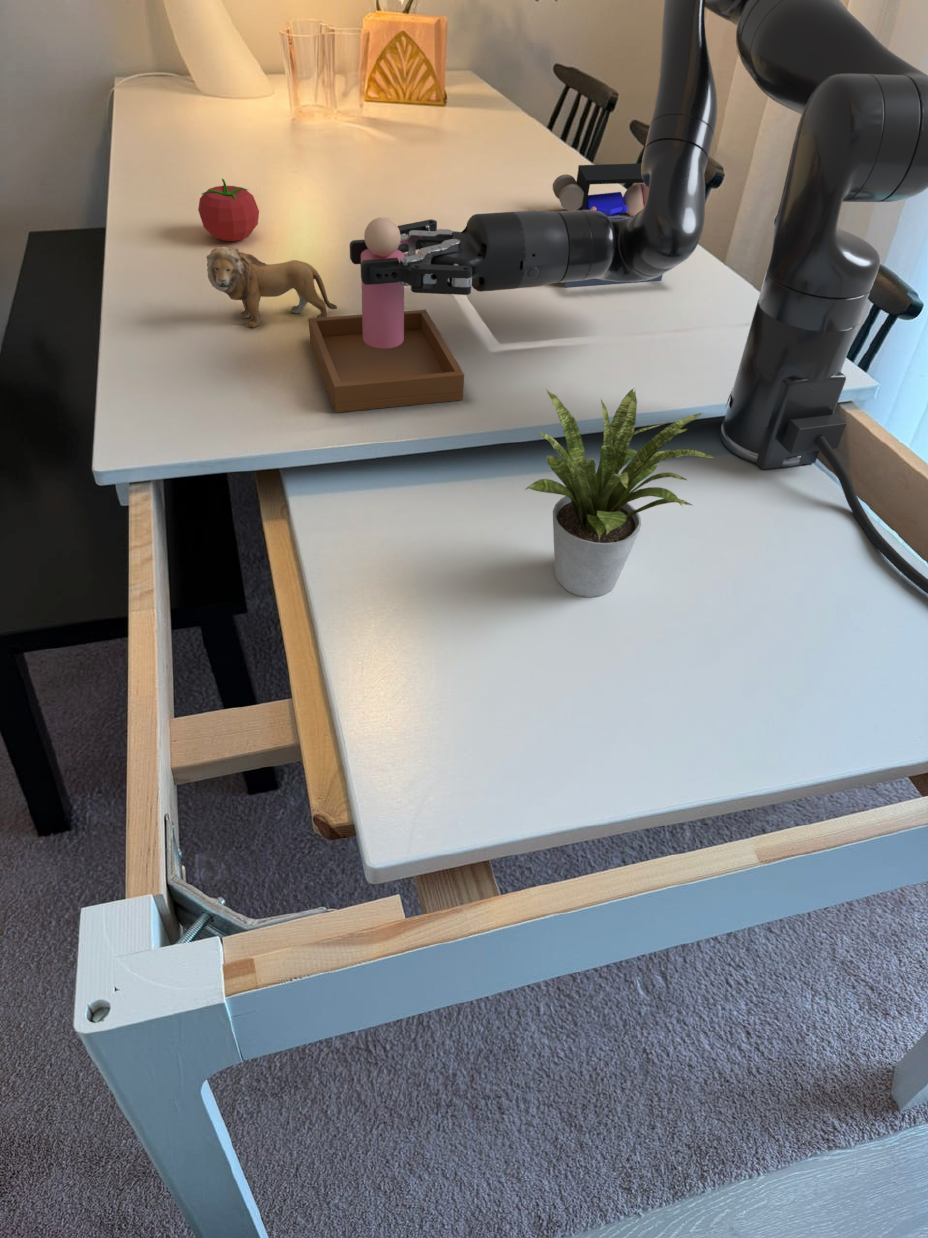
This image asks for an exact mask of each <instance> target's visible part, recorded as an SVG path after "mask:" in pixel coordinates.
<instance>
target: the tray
mask: <svg viewBox="0 0 928 1238" xmlns="http://www.w3.org/2000/svg"><path fill="white" fill-rule="evenodd" d="M307 321H308V335H309V345H310V347H311V350H312V353H313V355H314V358H315V361H316V363H317V367H318V369H319V372H320V374H321V378H322V380H323V382H324V386H325V388H326V391H327V393H328V396H329V400H330V402H331V404H332V407H333V409H334V412H335V414H338V413H347V412H348V413H349V412H357V411H368V410H376V409H378V410H379V409H387V408H397V407H405V406H406V407H407V406H418V405H427V404H436V403H445V402H447V403H448V402H456V401H457V402H458V401H464V399H463V397H464V386H465V385H464V384H465V373H464V372H463V370H462V368H461V366H460V365H459V363H458V361H457V359H456V358H455V356H454V354H453V352H452V351H451V349H450V348H449V346H448V344H447V343H446V340H445V339H444V338H443V336H442V334H441V332H440V330H439V329H438V327H437V326H436V324H435V322H434V321H433V319H432V317H431V315H430V313H429V312H428V311H427V309H416V310H415V309H413V310H404V341H403V343H402V344H400V345H399V346H396V347H393V348H385V349H383V348H375V347H371V346H369V345H367V344H366V343H365V342H364V341H363V329H362V313H360V314H349V315H348V314H347V315H336V316H327V317H320V318H316V317H309V318H308V320H307Z"/></svg>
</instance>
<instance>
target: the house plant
mask: <svg viewBox="0 0 928 1238" xmlns="http://www.w3.org/2000/svg"><path fill="white" fill-rule="evenodd" d="M636 390H637V389H634V388H632V389H631V390H629V391H628V392H627V393H626V394H625V396H624V397H623V398H622V399H621V401H620V403H619V405H618V407H617V408H616V410H615V412H614V415H613V417H612V420H611V421H610V418H609V413H608V409H607V407H606V404H605V403H604V401H603V400H602V398H600V403H601V409H602V410H601V411H602V419H603V420H602V421H603V441H602V444H601V446H600V452H599V453H600V454H599V455H600V456H599V463H598V466H597V470H596V465H597V464H596V461H595V459H594V458H593V457H591V458H588V460H587V456H586V450H585V445H584V442H583V437H582V435H581V432H580V429H579V426H578V422H577V421H576V418H575V417H574V416H573V415H572V413H571V412H570V411H569V410H568V409H567V408H566V407H565V405H564V404H563V402H562V401H561V400H560V398H559V397H558V396H557V395H555V393H552V392H550V391H549V390H548V389H546V392H547V395H548V397H549V398H550V400H551V403H552V405H553V407H554V409H555V411H556V415H557V416H558V419H559V422H560V425H561V428H562V430H563V433H564V437H565V442H566V446H567V449H565V448H564V447H563V446H562V445H561V444H560V443H559V442H558V441H557V440H556V439H555V438H554V437H552V436H551V435H549V434H547V433H546V432H542V431H540V430H537V432H538V433H539V434H540V435H541V436H542V437H543V438H544V439H545V440H546V441H548V442H549V443H550V445H551V446H552V447H553V449H554V451H555V452H556V453H557V454H558V455H559V456H555V455H546V464H547V465H548V466H549V468H550V469H551V471H552V472H553V473H554V474H555V475H556V477H557V478H558V479H559V480H560V481H561V482H562V483H560V482H558V481H555V480H553V479H549V478H542V479H538V480H536V481H534V482H532V483H531V484H530V485H528V486H527V487H526V488H525V489H524V491H526V490H528V489H530V490H532V491H534V492H535V491H536V492H540V493H547V494H555V495H560V496H563V497H560V499H559V500H558V501H557V502H556V503H555V505H554V507H553V509H552V527H553V528H552V529H553V553H554V555H553V556H554V557H553V559H554V577H555V579H556V581H557V582H558V583H559V585H560V586H561V587H562V588H563V589H564V590H566V591H567V592H568V593H571V594H573V595H575V596H579V597H584V598H595V597H600V596H604V595H607V594H608V593H610V592H612V590H613V589H614V588H615V587H616V586H617V585H616V584H617V583H618V580H619V578H620V576H621V573H622V571H623V569H624V567H625V565H626V562H627V561H628V558H629V555H630V554H631V551H632V549H633V547H634V545H635V542H636V540H637V538H638V536H639V533H640V531H641V528H642V525H643V524H642V519H641V516H640V514H639V513H640V512H644V511H645V510H648V509H650V508H654V507H656V506H660V505H665V504H670V503H678V504H679V505H680V506H681V507H683V505H687V506H693V503H690V502H688V501H686V500H684V499H681V498H678V496H677V495H676V494H675V493H674V492H672V491H671V490H669V489H667V488H664V487H659V486H658V487H649V486H648V487H645V488H641V487H643V486H644V485H646V484H648V483H651V482H652V481H656V480H659V479H664V478H674V479H678V480H682V481H689V480H688V479H687V478H685V477H683V476H682V475H680V474H677V473H673V472H669V471H668V472H667V471H666V472H660V473H656V474H653V473H654V472H655V471H656V469H657V468H658V467H660V466H659V463H661V462H663V461H667V460H670V459H674V458H680V457H684V456H685V457H686V456H695V457H700V458H701V457H702V458H708V459H709V458H711V459H716V457H715V456H713V455H712V454H708V453H705V452H703V451H700V450H697V449H696V450H695V449H690V448H677V449H666V450H660V449H661V448H662V447H664V446H665V445H666V444H668V443H669V442H670V441H671V440H672V439H674V438H675V437H676V436H677V435H680V434H681V433H685V432H686V431H687V430H688V428H683V427H684V426H686V425H687V424H688V423H690V422H692V421H695V420H696V419H697V418H699V417H700V416H701V415H702V414H703V412H700V413H695V414H691V415H688V416H685V417H683V418H681V419H679V420H676V421H674V422H672V423H671V424H669V425H668V426H666V427H665V428H663V429H662V430H661V431H659V432H658V433H657V434H656V435H654V436H653V437H652V438H651V439H649V440H648V441H647V442H646V443H645V444H643V446H642V447H640V449H639V450H638V451H636V450H634V449H633V448H629V447H630V444H631V441H632V438H633V436H634V435H638V434H639V433H642V432H645V431H647V430H648V431H649V430H651V429H654V428H658V427H660V426H664V425H665V424H668V423H669V421H667V422H664V423H660V424H656V425H651V426H646V427H643V428H640V429H637V430H635V427H636V418H637V416H636V415H637V410H638V409H637V408H638V400H637V395H636ZM560 457H561V458H560ZM628 462H629V463H628ZM627 463H628V464H627ZM626 464H627V465H626ZM625 465H626V466H625ZM624 466H625V467H624ZM622 469H623V470H622ZM621 470H622V471H621ZM620 471H621V472H620ZM652 474H653V475H652ZM650 475H651V476H650ZM649 476H650V477H649ZM647 477H648V478H647ZM639 483H640V484H639ZM646 497H654V498H659V499H656V500H654V501H652V502H651V501H650V502H649V503H646V504H644V505H642V506H641V507H639V508H637V509H636V508H635V507H634V506H633V505H632V504H631V503H629V502H632V501H635V500H637V499H640V498H646Z"/></svg>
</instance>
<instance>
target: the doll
mask: <svg viewBox="0 0 928 1238" xmlns="http://www.w3.org/2000/svg"><path fill="white" fill-rule="evenodd" d="M397 226H398V225H397V224H396V223H395V222H394V221H393V220H391V219H390V218H387V217H377V218H374V219H372V220H371V221H370V222H368V224H367V226H366V228H365V229H364V233H363V235H364V236H363V240H364V239H365V243H366V246H367V248H368V249H366V250H364V251H363V252H362V253H361V262H362V261H364V260H373V259H386V258H398V260H399V262H400V259H401V258H402V257H405V256H404V254H405V253H404V254H403V253H402V252H401V251H399V250H397V249H398V247H399V245H400V244H401V243H400V241H401V235H400V231H399V228H398V227H397ZM360 280H361V279H360ZM360 282H361V283H360V284H361V285H360V287H361V314H362V329H363V341H364V342H365V343H366V344H367V345H369V346H371V347H375V348H383V349H385V348H393V347H396V346H399V345H400V344H402V343H403V341H404V311H405V286H403V285H401V284H400V281H399V282H396V283H384V284H372V285H365V284H364V283H363V281H362V280H361V281H360Z"/></svg>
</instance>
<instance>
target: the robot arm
mask: <svg viewBox="0 0 928 1238" xmlns="http://www.w3.org/2000/svg"><path fill="white" fill-rule="evenodd" d="M705 9H706V10H707V11H709V12H712V13H714V15H717V16H718V17H720V18H722V19H724V20H726V21H728V22H730V23H732V24H734V25H735V26H736V29H735V30H736V31H735V46H736V51H737V54H738V57H739V59H740V61H741V64H742V65H743V67H744V69H745V70H746V72H747V73H748V74H749V76H750V77H751V79H752V80H753V81H754V83H755V84H756V86H757V87H758V88H759V89H760V91H762V93H764V94H765V95H766V96H767V97H768V98H770V99H771V100H772V101H774V102H775V103H778V104H779V105H781V106H783V107H785V108H786V109H789V110H791V111H793V112H796V113H798V114H800V115H801V116H800V118H799V122H798V125H797V127H796V132H795V136H794V140H793V144H792V149H791V154H790V157H789V163H788V167H787V168H788V169H787V172H786V176H785V180H784V181H785V182H784V184H783V189H782V193H781V198H780V202H779V206H778V209H777V214H776V217H775V223H774V228H773V236H772V244H771V251H770V257H769V259H768V263H767V268H766V270H765V275H764V278H763V281H762V285H761V288H760V292H759V296H758V299H757V301H756V306H755V309H754V311H753V312H754V313H753V316H752V319H751V323H750V327H749V331H748V333H747V336H746V337H747V338H746V341H745V344H744V348H743V351H742V355H741V358H740V362H739V366H738V369H737V373H736V376H735V380H734V383H733V386H732V389H731V390H730V394H729V395H728V399H727V401H726V404H725V408H724V409H726V408H727V409H726V413H725V416H724V418H723V420H722V423H721V426H720V429H719V437H720V441H721V442H722V444H723V445H724V446H725V448H727V449H728V450H729V451H730V452H732V454H734V455H736V456H738V457H740V458H742V459H744V460H745V461H749V462H752V463H754V464H756V465H757V466H758V467H759V468H760V469H762V470H769V469H770V470H771V469H778V468H786V467H792V466H793V467H794V466H801V465H808V464H809V465H810V464H815V463H816V462H817V459H818V456H819V454H820V452H821V454H822V455H823V457H824V458H825V459H826V461H827V462H828V464H829V466H830V467H831V468H832V471H833V472H834V474H835V475H836V477H837V479H838V481H839V484H840V486H841V488H842V491H843V495H844V498H845V499H846V502H847V504H848V507H849V509H850V510H851V512H852V514H853V516H854V518H855V520H856V521H857V522H858V524H859V525H860V526H859V527H861V529H862V531H863V532H864V533H865V536H866V537H867V538H868V539H869V541H870V542H871V543H872V545H874V547H875V548H876V549H877V550H878V552H880V553H881V554H882V555H883V556H884V558H886V559H887V561H889V562H890V564H891V565H893V566H894V567H895V568H896V569H897V570H898V572H900V573H901V574H902V575H903V576H904V577H905V578H907V579H908V580H909V581H910V582H912V583H913V584H914V585H915V586H916V587H918V588H919V589H921V590H922V591H923V592H924V593H925V594H927V595H928V578H927V577H926V576H925V575H923V573H921V572H920V571H918V570H917V568H915V567H914V566H913V565H911V563H909V562H908V561H907V560H906V559H905V558H904V557H902V555H901V554H899V553H898V551H897V550H896V549H894V547H893V546H892V545H891V543H889V542H888V541H887V540H886V539H885V537H883V536H882V535H881V533H880V532H879V531H878V530H877V528H876V527H875V526H874V524H873V523H872V521H871V519H870V518H869V516H868V514H867V513H866V511H865V509H864V508H863V505H862V504H861V502H860V500H859V498H858V496H857V493H856V491H855V487H854V485H853V481H852V480H851V479H852V478H851V477H850V475H849V473H848V471H847V469H846V467H845V466H844V464H843V462H842V461H841V458H839V456H838V455H837V453H836V452H835V450H834V449H838V447H839V445H840V443H841V440H842V437H843V435H844V433H845V429H846V427H847V422H846V421H845V420H844V419H842V418H841V416H840V415H838V414H837V413H836V412H835V411H836V408H837V405H838V403H839V400H840V397H841V394H842V392H843V390H844V386H845V384H846V381H847V377H846V375H845V374H844V373H843V372H842V370H843V367H844V364H845V362H846V359H847V356H848V354H849V351H850V348H851V346H852V343H853V340H854V337H855V335H856V332H857V329H858V326H859V324H860V321H861V318H862V316H863V312H864V310H865V307H866V305H867V302H868V300H869V296H870V293H871V291H872V289H873V286H874V283H875V280H876V278H877V275H878V273H879V269H880V266H881V257H880V254H879V252H878V250H877V249H876V248H875V247H874V246H873V245H872V244H870V243H869V242H868V241H866V239H865V240H864V239H863V238H861V237H860V236H858V235H856V234H853V233H851V232H848V231H846V230H844V229H842V228H840V227H838V223H839V217H840V213H841V209H842V205H843V203H846V202H847V203H848V202H849V203H892V202H898V201H903V200H908V199H910V198H913V197H915V196H918V195H919V194H921V193H923V192H924V191H926V190H927V189H928V74H926V73H925V72H923V71H922V70H920V69H919V68H917V67H915V66H913V65H912V64H911V63H909V62H907V61H906V60H904V59H902V58H901V57H900V56H898V55H896V54H895V53H893V52H892V51H891V50H889V49H888V48H887V47H886V46H885V45H883V43H881V42H880V41H879V40H878V39H877V38H876V37H875V36H874V34H872V32H871V31H870V30H868V28H867V27H866V26H865V25H863V23H862V22H860V20H858V19H857V18H856V16H854V15H853V14H852V13H851V12H850V11H849V10H848V8H846V6H845V5H844V3H843V2H842V1H841V0H664V2H663V13H662V14H663V15H662V24H661V39H660V57H659V71H658V81H657V87H656V94H655V100H654V104H653V111H652V115H651V119H650V123H649V128H648V132H647V136H646V141H645V145H644V146H645V147H644V150H643V154H642V158H641V163H642V165H641V175H642V179H643V182H644V183H643V184H644V185H646V186H647V187H648V188H649V192H648V197H647V200H646V203H645V206H644V208H643V209H642V210H641V211H640V212H638V213H637V214H636V215H634V216H630V217H626V218H625V219H609V218H608V217H607V216H608V215H605V214H604V213H602V212H600V211H596V210H579V209H577V210H574V211H569V210H561V211H560V210H559V211H545V210H534V209H533V210H519V211H518V210H515V211H504V212H503V211H501V212H486V213H475V214H473V215H471V216H470V217H469V219H468V220H467V222H466V226H465V228H464V229H463V230H462V231H457V230H456V231H455V230H451V229H448V228H447V229H445V228H438V222H437V220H436V219H432V218H430V219H426V220H421V221H415V222H410V223H404V224H399V225H397V227H398V228H399V231H400V235H401V241H400V245H399V247H398V249H397V250H399V251H401V252H402V253H403V254H404V256H405V257H402V258H401V259H400V262H399V260H398V258H386V259H373V260H364V261H362V262H361V253H362V252H363V251H364V250H366V249H368V248H367V246H366V243H365V239H364V238H363V239H353V240H351V241H350V242H349V259H350V262H351V263H352V264H353V265H360V280H362V281H363V283H364V284H365V285H372V284H384V283H396V282H399V281H400V284H401V285H403V286H404V287H409V286H410V291H411V292H412V293H415V294H433V295H434V294H435V295H436V294H437V295H457V296H458V295H459V296H467V295H471V294H472V288H473V289H474V290H475V291H476V292H482V293H483V292H493V291H505V290H515V289H527V288H536V287H542V286H547V285H551V284H557V283H561V282H569V281H581V280H588V279H594V278H596V279H601V280H608V281H619V282H638V281H645V280H650V279H654V278H656V277H659V276H661V275H662V274H663V275H665V273H667V272H669V271H671V270H672V269H674V268H675V267H678V266H679V265H681V264H682V263H684V262H686V261H687V260H688V259H689V258H690V257H691V256H692V255H693V253H694V252H695V250H696V249H697V247H698V245H699V243H700V240H701V237H702V234H703V230H704V225H705V216H706V181H705V172H706V169H707V166H708V162H709V157H710V153H711V148H712V144H713V140H714V135H715V131H716V126H717V120H718V94H717V86H716V80H715V77H714V71H713V67H712V62H711V58H710V53H709V47H708V42H707V35H706V34H707V33H706V24H705V23H706V22H705ZM416 252H417V253H416ZM638 283H639V282H638Z"/></svg>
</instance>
